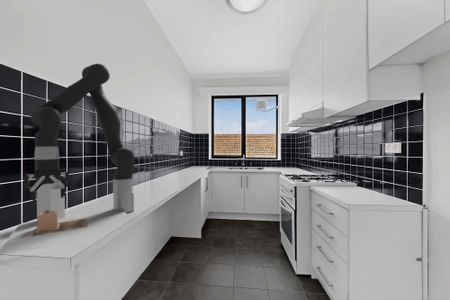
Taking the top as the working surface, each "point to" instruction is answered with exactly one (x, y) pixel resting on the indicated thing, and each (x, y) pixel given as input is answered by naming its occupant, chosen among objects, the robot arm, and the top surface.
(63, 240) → the top surface
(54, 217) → the sleeve
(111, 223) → the top surface
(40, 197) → the milk carton
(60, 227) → the post board
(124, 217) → the top surface
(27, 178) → the robot arm
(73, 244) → the top surface
